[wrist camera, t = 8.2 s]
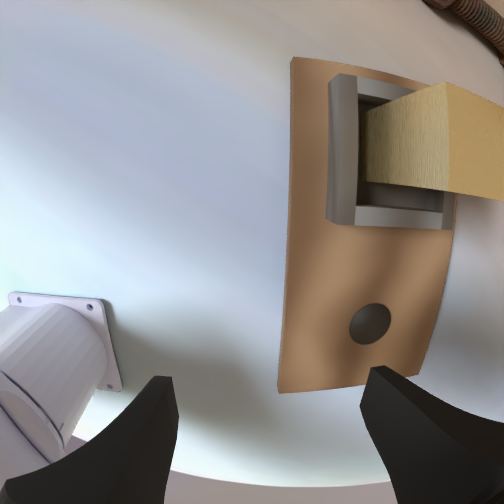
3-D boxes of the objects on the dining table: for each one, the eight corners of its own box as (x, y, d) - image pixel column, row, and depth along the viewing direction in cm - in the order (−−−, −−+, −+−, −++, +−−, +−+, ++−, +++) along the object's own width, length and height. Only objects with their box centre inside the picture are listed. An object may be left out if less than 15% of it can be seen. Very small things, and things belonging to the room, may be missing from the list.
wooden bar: (359, 180, 16) (447, 191, 8) (360, 114, 15) (445, 81, 7) (415, 186, 16) (509, 202, 8) (415, 125, 15) (508, 110, 7)
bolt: (373, -26, 14) (499, 57, 16) (378, -11, 13) (516, 86, 14) (396, -70, 9) (527, 27, 10) (407, -64, 7) (550, 54, 9)
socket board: (277, 384, 21) (282, 412, 18) (290, 62, 15) (300, 43, 12) (413, 368, 21) (429, 388, 18) (447, 97, 16) (473, 90, 13)
